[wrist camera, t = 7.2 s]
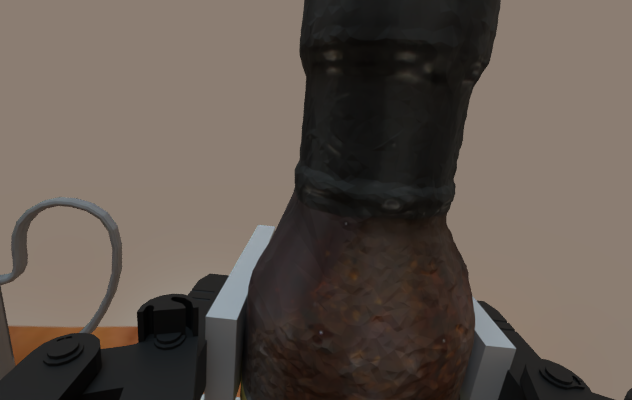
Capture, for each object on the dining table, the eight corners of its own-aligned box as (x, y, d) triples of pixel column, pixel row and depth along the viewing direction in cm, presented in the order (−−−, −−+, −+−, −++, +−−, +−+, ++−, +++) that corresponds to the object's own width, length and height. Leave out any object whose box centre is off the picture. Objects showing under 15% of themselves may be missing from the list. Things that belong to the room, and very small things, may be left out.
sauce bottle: (351, 469, 16) (435, 52, 11) (434, 666, 10) (686, 0, 5) (218, 513, 14) (246, 6, 9) (233, 799, 8) (340, -172, 3)
